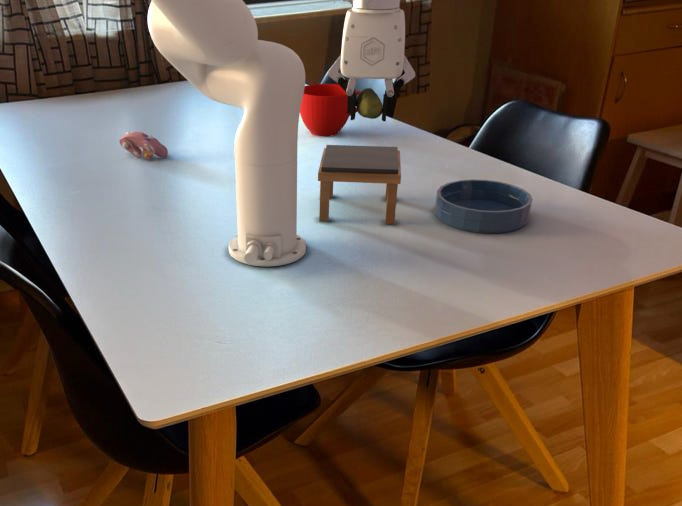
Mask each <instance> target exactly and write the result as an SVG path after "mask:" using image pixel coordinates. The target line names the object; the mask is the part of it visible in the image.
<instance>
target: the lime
mask: <svg viewBox="0 0 682 506" xmlns="http://www.w3.org/2000/svg"><path fill="white" fill-rule="evenodd" d="M360 91H361V92H360V94H358V95H357V97H356V109H357V111H358V112H357V113H358V115H360V116H361V117H363V118H365V119H370V120H374V119H378V118H379V117H381V116H382V108H383V102H382V101H381V99H380V97H379V94H378V93H376V91H375V90H374V89H372V88H370V87H365V88H364V89H361V90H360Z"/></svg>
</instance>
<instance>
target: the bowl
mask: <svg viewBox="0 0 682 506" xmlns="http://www.w3.org/2000/svg"><path fill="white" fill-rule="evenodd" d="M435 196H436V197H435V204H434V214H435V216H437V218H438V220H440V222H442V223H444V224H445V225H447V226H449V227H452V228H455V229H457V230H461V231H465V232H469V233H476V234H503V233H509V232H513V231H516V230H519V229H521V228H522V227H524V226H525V225H526V224H528V222H529V219H530V216H531V210H532V205H533V197H532V195H531V194H530V193H529V192H528V191H527V190H525V189H524V188H523V187H522V188H521V187H519V186H516V185H514V184H510V183H507V182H503V181H497V180H492V179H491V180H490V179H472V178H471V179H459V180H455V181H450V182H447V183H444V184H443V185H441V186H439V187H438V189H437V190H436V195H435Z"/></svg>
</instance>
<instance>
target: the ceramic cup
mask: <svg viewBox="0 0 682 506" xmlns="http://www.w3.org/2000/svg"><path fill="white" fill-rule="evenodd" d="M361 91H362V90H356V91H355V92H356V93H357V96H358V95H359V94H360V92H361ZM347 101H348V95H347V94H346V92H345V91H344V90H343V89H342V88H341V87H340V85H339V84H338V83H337V84H336V83H315V84H307V85H305V88H304V94H303V99H302V103H301V109H300V114H299V116H300V118H301V121H302V122H303V124H304V126H305V127H306V129H307V131H309V132H310V134H311V135H312V136H314V137H315V136H316V137H322V138H323V137H327V138H328V137H334V136H337V135H339V133H340V131H341V130H342V129H343V128H344V127H345V125H346V124H347V122H348V120H349V119H350V117H351V114H347ZM356 113H358V111H357V109H356Z"/></svg>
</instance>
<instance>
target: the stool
mask: <svg viewBox="0 0 682 506" xmlns="http://www.w3.org/2000/svg"><path fill="white" fill-rule="evenodd" d="M398 149H399V147H398V146H383V145H382V146H381V145H380V146H379V145H378V146H377V145H350V144H347V145H345V144H326V147H324V148H323V150H322V156H321V159H320V163H319V166H318V172H317V182H319V213H318V215H319V216H318V217H319V218H318V221H319V222H325V223H328V222H329V220H330V199H333V197H334V183H358V184H359V183H362V184H385V196H384V201H385V202H386V204H385V217H384V225H395V221H396V220H395V219H396V209H397V199H398V198H397V197H398V187H399V185H401V182H402V167H401V150H400V149H399V150H398Z"/></svg>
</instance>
